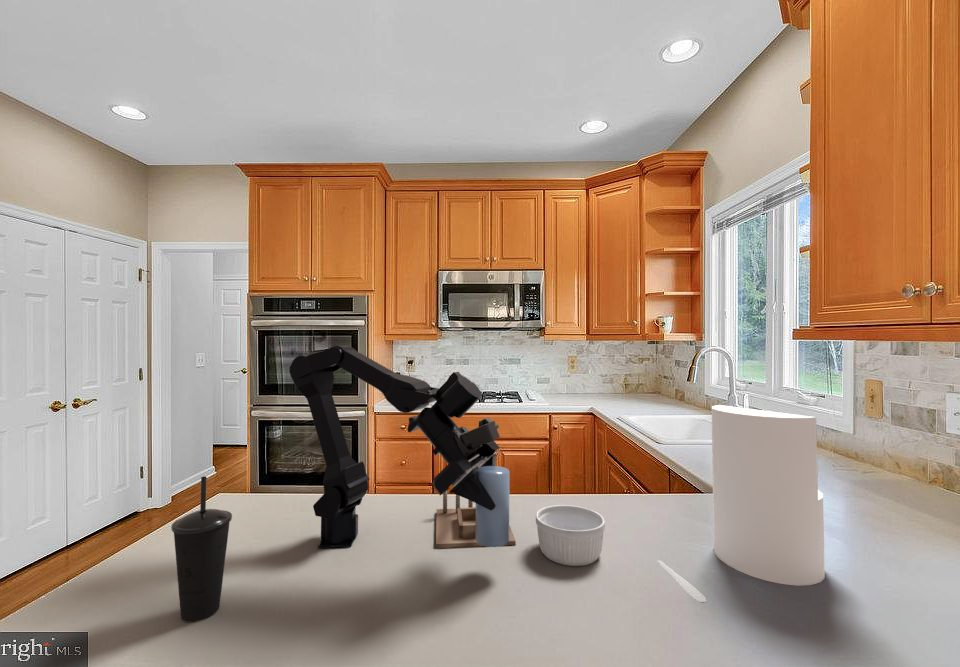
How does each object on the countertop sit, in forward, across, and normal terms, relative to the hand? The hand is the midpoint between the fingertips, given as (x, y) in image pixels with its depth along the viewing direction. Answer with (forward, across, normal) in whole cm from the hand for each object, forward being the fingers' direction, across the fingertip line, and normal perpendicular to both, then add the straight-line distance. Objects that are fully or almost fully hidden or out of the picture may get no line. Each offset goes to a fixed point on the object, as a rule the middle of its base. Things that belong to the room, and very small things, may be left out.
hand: (499, 502), depth 74 cm
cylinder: (+41, +23, -23) cm, 52 cm away
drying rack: (+1, +16, +17) cm, 23 cm away
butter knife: (+27, +16, -9) cm, 33 cm away
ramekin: (+16, +12, +2) cm, 21 cm away
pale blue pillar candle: (+4, 0, +6) cm, 7 cm away
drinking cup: (-18, -27, +36) cm, 48 cm away
